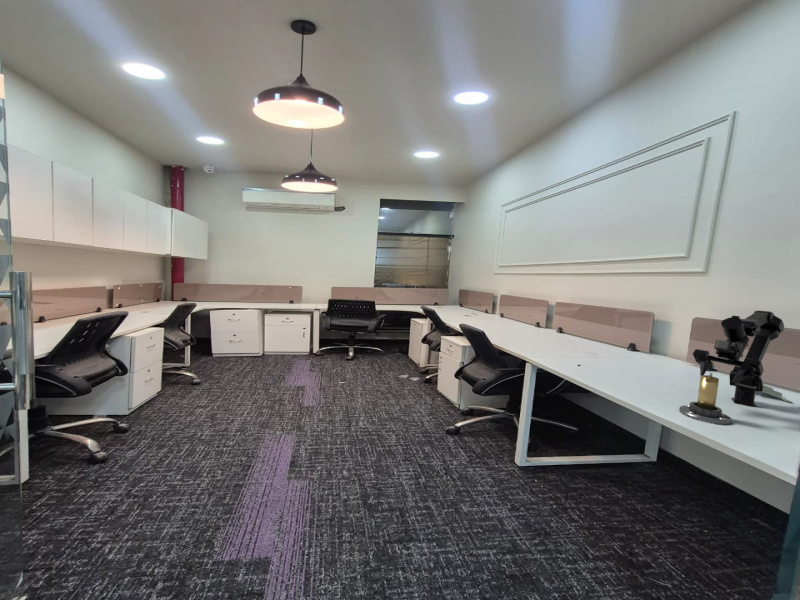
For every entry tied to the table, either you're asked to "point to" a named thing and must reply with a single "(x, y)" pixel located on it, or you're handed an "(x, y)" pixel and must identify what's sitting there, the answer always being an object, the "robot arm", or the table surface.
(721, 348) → the robot arm
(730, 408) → the table surface
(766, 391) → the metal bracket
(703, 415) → the grey flange
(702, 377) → the brass pepper mill
